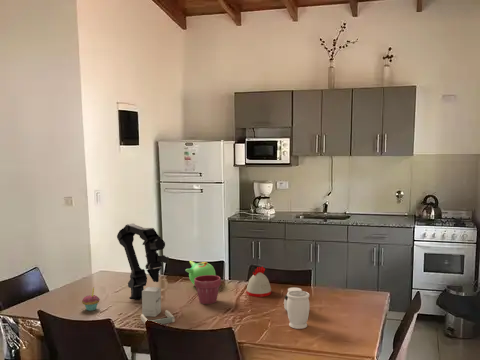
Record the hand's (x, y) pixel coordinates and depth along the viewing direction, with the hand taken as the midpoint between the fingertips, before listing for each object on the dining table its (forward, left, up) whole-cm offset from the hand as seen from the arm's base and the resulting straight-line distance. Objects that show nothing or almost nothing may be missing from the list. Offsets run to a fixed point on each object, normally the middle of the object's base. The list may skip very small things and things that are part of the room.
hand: (156, 281), depth 242 cm
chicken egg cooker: (+40, +42, -13) cm, 60 cm away
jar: (+76, +4, -13) cm, 77 cm away
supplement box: (+5, -11, -13) cm, 18 cm away
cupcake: (-28, -18, -13) cm, 36 cm away
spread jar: (+68, +22, -13) cm, 73 cm away
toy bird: (+3, +41, -13) cm, 43 cm away
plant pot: (+21, +17, -13) cm, 30 cm away
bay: (+13, -17, -13) cm, 25 cm away
